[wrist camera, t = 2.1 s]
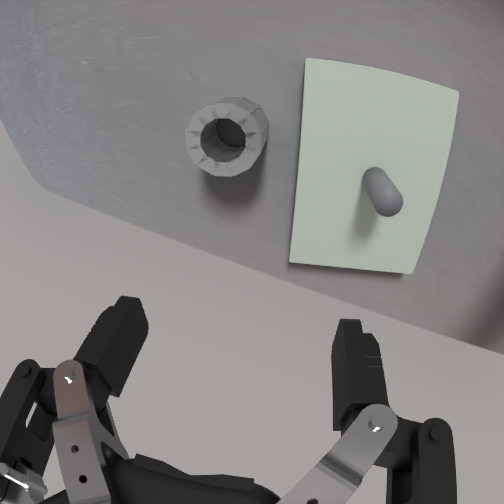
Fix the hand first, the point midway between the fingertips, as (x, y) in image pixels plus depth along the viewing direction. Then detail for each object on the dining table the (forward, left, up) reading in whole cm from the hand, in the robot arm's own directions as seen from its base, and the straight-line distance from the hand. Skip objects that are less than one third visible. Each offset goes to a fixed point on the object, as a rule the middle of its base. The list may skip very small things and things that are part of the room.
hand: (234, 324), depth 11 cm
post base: (0, +9, -20) cm, 22 cm away
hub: (-3, -4, -20) cm, 20 cm away
